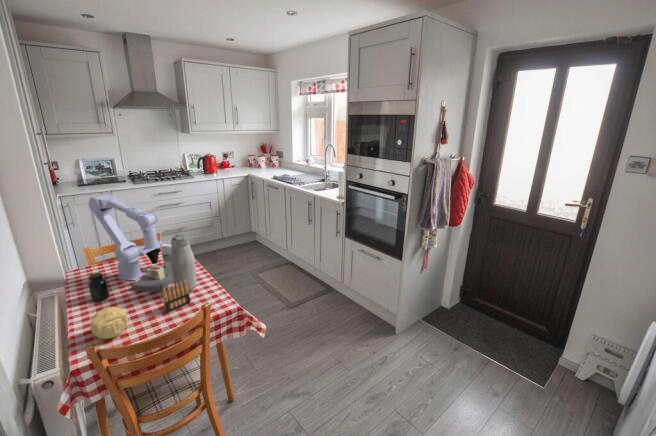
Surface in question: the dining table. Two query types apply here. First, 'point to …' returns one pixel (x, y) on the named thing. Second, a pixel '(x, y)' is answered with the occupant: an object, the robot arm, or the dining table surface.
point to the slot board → (154, 282)
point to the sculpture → (109, 322)
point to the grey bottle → (183, 262)
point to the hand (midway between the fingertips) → (154, 263)
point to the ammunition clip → (175, 297)
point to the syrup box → (166, 254)
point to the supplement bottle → (98, 287)
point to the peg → (155, 273)
